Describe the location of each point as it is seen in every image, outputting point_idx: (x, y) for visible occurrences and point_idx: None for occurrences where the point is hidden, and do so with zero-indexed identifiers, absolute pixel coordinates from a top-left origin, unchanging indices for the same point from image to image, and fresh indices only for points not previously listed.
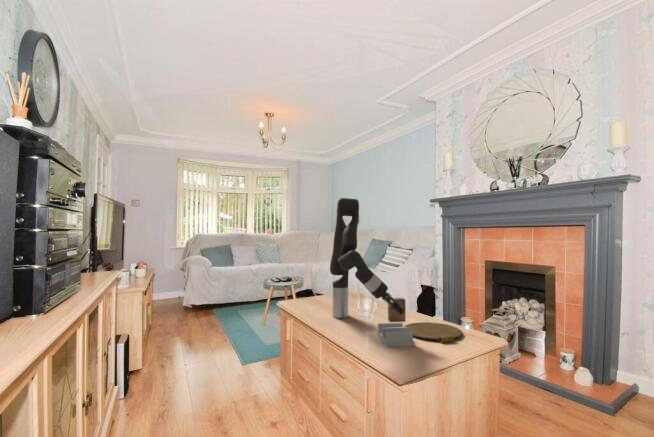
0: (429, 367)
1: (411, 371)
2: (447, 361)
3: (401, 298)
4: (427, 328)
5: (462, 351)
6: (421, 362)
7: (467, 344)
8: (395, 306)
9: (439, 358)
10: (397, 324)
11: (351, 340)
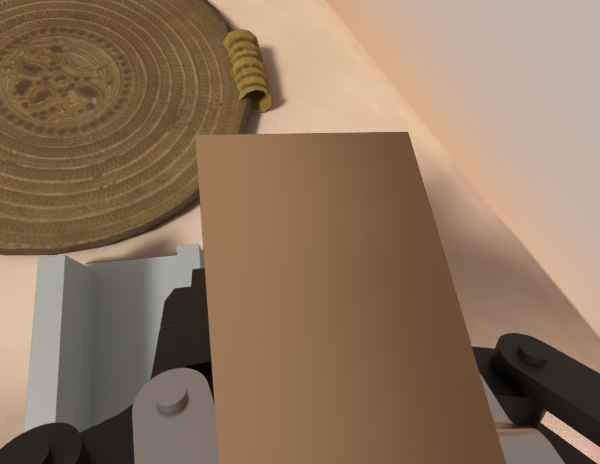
0: (525, 252)
1: (579, 336)
2: (457, 166)
3: (292, 195)
4: (29, 87)
5: (353, 72)
6: (490, 271)
7: (275, 19)
8: (538, 422)
9: (436, 184)
10: (67, 307)
11: None
